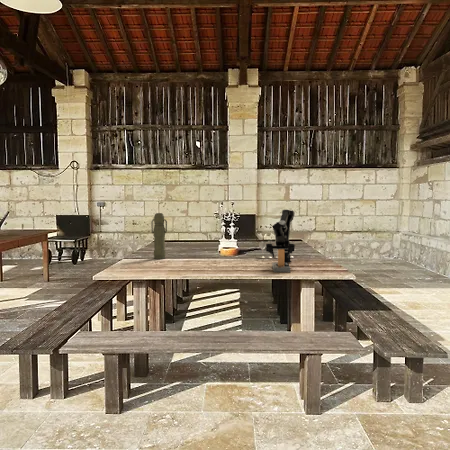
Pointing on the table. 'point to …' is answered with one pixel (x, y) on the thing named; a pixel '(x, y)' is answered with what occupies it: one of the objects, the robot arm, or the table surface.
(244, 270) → the table surface
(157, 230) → the thermos
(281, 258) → the peg
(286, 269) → the grey flat block
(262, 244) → the goblet set
